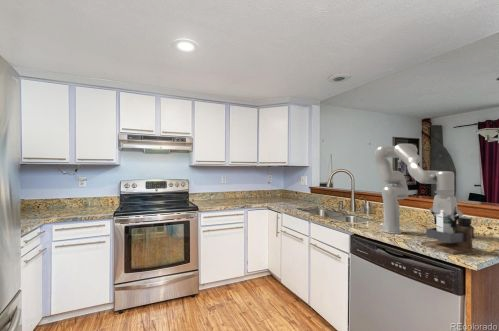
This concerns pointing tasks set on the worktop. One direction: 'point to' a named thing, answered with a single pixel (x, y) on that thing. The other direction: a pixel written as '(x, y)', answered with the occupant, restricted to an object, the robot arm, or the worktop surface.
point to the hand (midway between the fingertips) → (445, 225)
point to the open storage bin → (446, 235)
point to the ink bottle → (465, 223)
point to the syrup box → (444, 223)
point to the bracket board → (453, 247)
